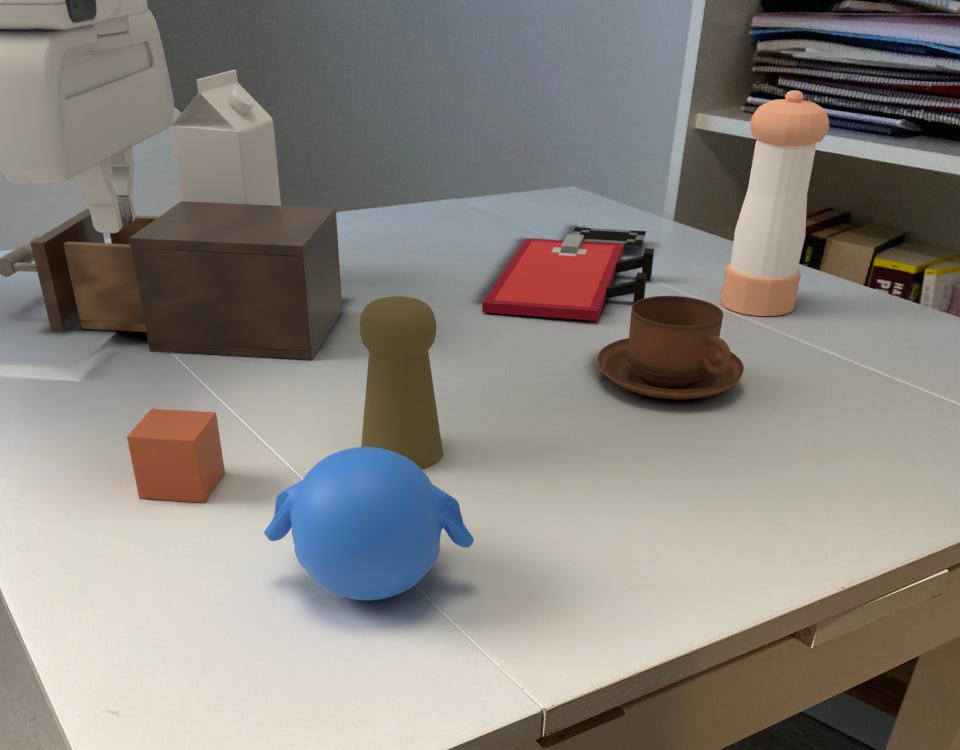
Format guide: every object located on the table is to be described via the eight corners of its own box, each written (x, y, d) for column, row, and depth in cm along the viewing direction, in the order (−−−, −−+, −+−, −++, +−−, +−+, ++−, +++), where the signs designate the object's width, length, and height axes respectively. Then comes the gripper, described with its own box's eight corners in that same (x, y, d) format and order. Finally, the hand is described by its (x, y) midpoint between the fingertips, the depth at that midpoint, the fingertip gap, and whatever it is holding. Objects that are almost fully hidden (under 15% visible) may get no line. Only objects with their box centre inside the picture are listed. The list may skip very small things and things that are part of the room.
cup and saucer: (761, 377, 86) (775, 305, 83) (703, 425, 78) (716, 348, 75) (636, 347, 92) (644, 278, 88) (570, 388, 84) (575, 314, 80)
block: (139, 498, 67) (126, 436, 65) (162, 468, 71) (151, 408, 68) (204, 503, 67) (194, 440, 64) (225, 472, 71) (216, 411, 68)
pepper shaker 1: (422, 477, 70) (420, 321, 64) (345, 462, 72) (335, 308, 66) (455, 443, 75) (456, 294, 68) (382, 429, 77) (376, 282, 70)
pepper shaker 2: (760, 321, 98) (801, 100, 86) (705, 301, 102) (737, 88, 91) (809, 308, 101) (854, 93, 90) (753, 289, 106) (790, 82, 95)
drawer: (-3, 330, 90) (-27, 239, 85) (54, 290, 99) (34, 206, 94) (199, 341, 88) (186, 249, 84) (238, 300, 98) (227, 215, 93)
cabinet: (149, 351, 89) (128, 238, 83) (196, 305, 99) (180, 201, 93) (312, 360, 88) (302, 246, 82) (342, 312, 98) (335, 208, 92)
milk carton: (194, 288, 103) (162, 77, 92) (228, 268, 108) (202, 67, 97) (257, 296, 101) (233, 82, 90) (288, 275, 107) (269, 72, 95)
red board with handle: (661, 240, 119) (536, 233, 122) (664, 215, 117) (537, 208, 120) (636, 328, 96) (482, 317, 98) (639, 298, 94) (482, 288, 97)
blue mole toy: (477, 524, 65) (480, 402, 60) (469, 632, 56) (471, 496, 51) (294, 518, 66) (281, 395, 61) (254, 624, 56) (234, 489, 51)
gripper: (85, -30, 68) (128, 190, 76) (-78, -8, 51) (-1, 270, 59) (176, -29, 67) (209, 192, 75) (41, -8, 51) (102, 273, 59)
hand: (116, 227), depth 67 cm, fingers closed
